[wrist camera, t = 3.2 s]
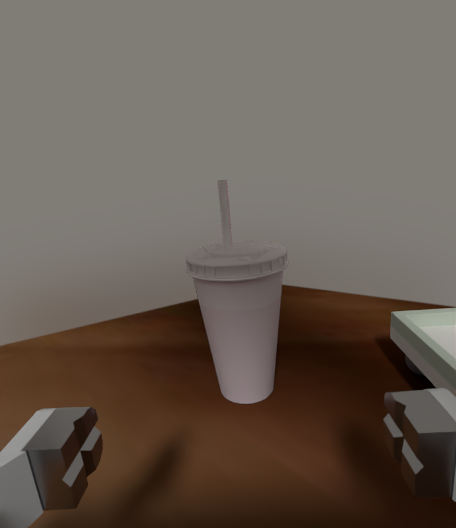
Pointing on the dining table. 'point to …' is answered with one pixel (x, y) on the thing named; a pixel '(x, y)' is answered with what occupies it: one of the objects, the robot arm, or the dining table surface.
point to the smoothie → (240, 308)
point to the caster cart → (428, 343)
